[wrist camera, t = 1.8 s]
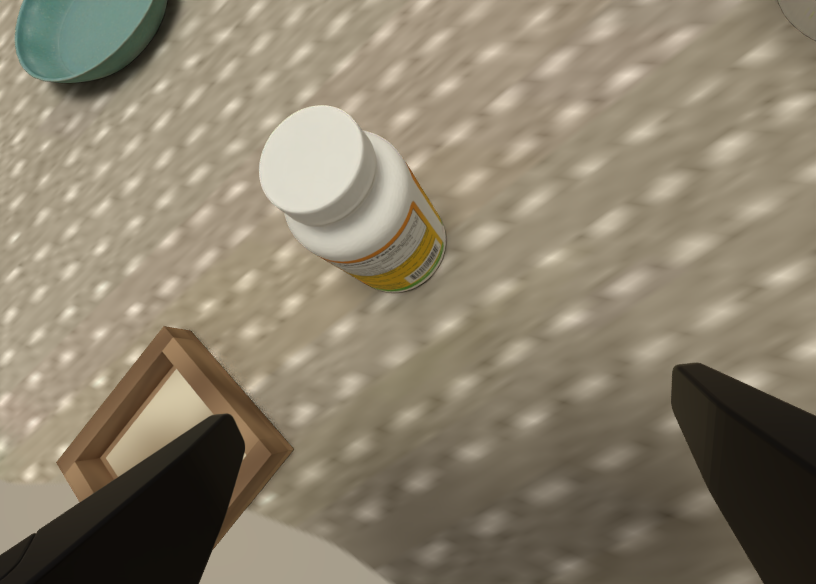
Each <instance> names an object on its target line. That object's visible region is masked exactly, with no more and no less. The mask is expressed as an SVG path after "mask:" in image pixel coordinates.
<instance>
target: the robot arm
mask: <svg viewBox="0 0 816 584" xmlns="http://www.w3.org/2000/svg"><path fill="white" fill-rule="evenodd" d="M671 404H672V409H673V412H674V415H675V417H676V419H677V422H678V424H679V426H680V428H681V430H682V433H683V435H684V437H685V439H686V442H687V444H688V446H689V448H690V450H691V453H692V455H693V457H694V459H695V461H696V464H697V466H698V468H699V470H700V473H701V475H702V477H703V479H704V481H705V483H706V485H707V487H708V489H709V491H710V493H711V495H712V497H713V498H714V500H715V502H716V504H717V505H718V507H719V509H720V511H721V512H722V514H723V516H724V517H725V519H726V521H727V522H728V524H729V526H730V527H731V529H732V531H733V532H734V534H735V536H736V538H737V539H738V541H739V543H740V544H741V546H742V548H743V549H744V551H745V553H746V554H747V556H748V558H749V559H750V561H751V563H752V565H753V566H754V568H755V570H756V571H757V573H758V575H759V576H760V578H761V580H762V581H763V583H764V584H816V416H815V415H813V414H811V413H809V412H806V411H804V410H802V409H800V408H798V407H795V406H793V405H791V404H789V403H787V402H785V401H782V400H780V399H778V398H776V397H774V396H771V395H769V394H767V393H765V392H763V391H760V390H758V389H756V388H754V387H752V386H750V385H747V384H745V383H743V382H741V381H739V380H736V379H734V378H732V377H730V376H728V375H726V374H723V373H721V372H719V371H717V370H715V369H712V368H710V367H708V366H706V365H704V364H701V363H688V364H679V365H676V366H675V367H674V368H673V371H672V391H671ZM244 454H245V441H244V439H243V437H242V434H241V432H240V430H239V428H238V426H237V424H236V422H235V419H234V418H233V416H232V415H231V414H228V413H224V414H215V415H211V416H209V417H207V418H206V419H204V420H203V421H201V422H200V423H198V424H197V425H195V426H194V427H192V428H191V429H189V430H188V431H186V432H185V433H183V434H182V435H180V436H179V437H177V438H176V439H174V440H173V441H171V442H170V443H168V444H167V445H165V446H164V447H162V448H161V449H159V450H158V451H156V452H155V453H153V454H152V455H150V456H149V457H147V458H146V459H144V460H143V461H141V462H140V463H138V464H137V465H135V466H134V467H132V468H131V469H129V470H128V471H126V472H125V473H123V474H122V475H120V476H119V477H117V478H116V479H114V480H113V481H111V482H110V483H108V484H107V485H105V486H104V487H102V488H101V489H99V490H98V491H96V492H95V493H93V494H92V495H90V496H89V497H87V498H86V499H84V500H83V501H81V502H80V503H78V504H77V505H75V506H74V507H72V508H71V509H69V510H68V511H66V512H65V513H64V514H62V515H60V516H59V517H57V518H56V519H54V520H53V521H51V522H50V523H48V524H47V525H45V526H44V527H42V528H41V529H39V530H38V531H37V533H33V534H31V535H30V536H29V537H27V538H25V539H24V540H23V541H21V542H19V543H18V544H17V545H15V546H13V547H12V548H10V549H9V550H7V551H6V552H4V553H3V554H1V555H0V584H199V582H200V580H201V577H202V574H203V572H204V570H205V567H206V565H207V562H208V560H209V557H210V555H211V552H212V550H213V547H214V545H215V543H216V540H217V538H218V535H219V533H220V530H221V527H222V525H223V522H224V519H225V516H226V513H227V510H228V507H229V504H230V501H231V497H232V494H233V490H234V487H235V484H236V480H237V477H238V474H239V470H240V467H241V464H242V460H243V457H244Z"/></svg>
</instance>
